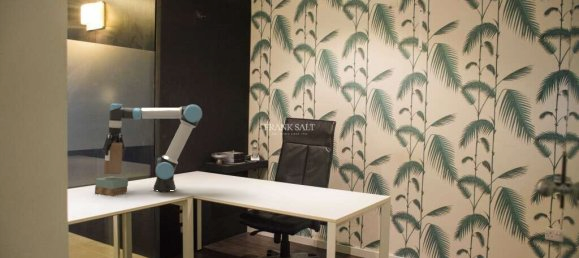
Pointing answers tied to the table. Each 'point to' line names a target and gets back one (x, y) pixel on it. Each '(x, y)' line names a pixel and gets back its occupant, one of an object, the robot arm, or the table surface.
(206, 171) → the table surface
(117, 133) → the robot arm
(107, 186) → the tower top
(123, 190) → the tower base
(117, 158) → the block
